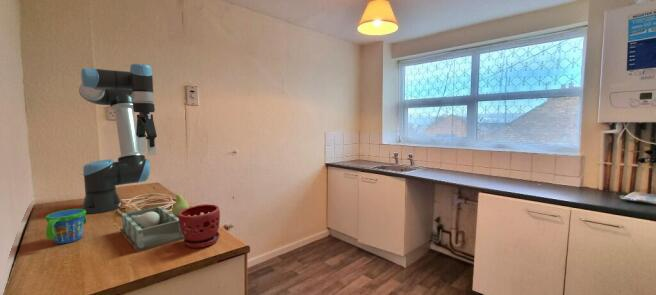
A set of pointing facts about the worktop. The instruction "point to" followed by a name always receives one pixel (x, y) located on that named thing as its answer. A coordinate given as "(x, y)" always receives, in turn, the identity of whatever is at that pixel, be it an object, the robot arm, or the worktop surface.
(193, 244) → the plant pot
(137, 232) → the grey plastic crate
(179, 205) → the fruit
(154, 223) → the light bulb
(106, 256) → the worktop surface
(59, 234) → the blue plastic tub
